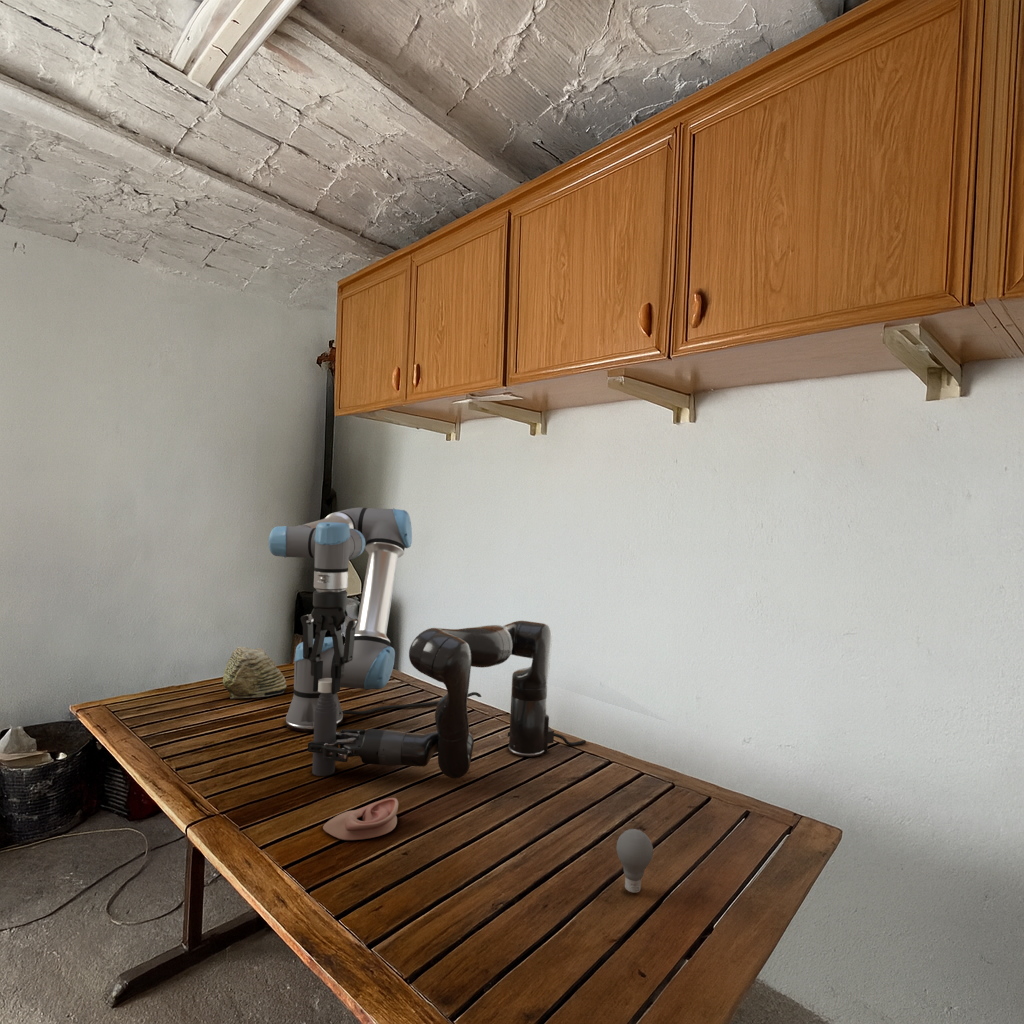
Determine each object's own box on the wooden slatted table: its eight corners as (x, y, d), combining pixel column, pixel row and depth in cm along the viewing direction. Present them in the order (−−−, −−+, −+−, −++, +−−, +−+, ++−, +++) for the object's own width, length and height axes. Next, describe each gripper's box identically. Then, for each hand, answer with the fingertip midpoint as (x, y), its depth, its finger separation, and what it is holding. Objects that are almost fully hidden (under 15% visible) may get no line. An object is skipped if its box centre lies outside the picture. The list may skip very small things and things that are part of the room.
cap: (320, 687, 147) (320, 677, 147) (337, 688, 148) (337, 678, 148) (315, 692, 144) (316, 682, 144) (333, 693, 144) (333, 683, 144)
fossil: (218, 695, 195) (220, 647, 195) (278, 685, 208) (279, 640, 207) (228, 703, 189) (230, 653, 188) (289, 692, 201) (290, 645, 201)
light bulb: (610, 879, 108) (613, 822, 108) (644, 879, 109) (647, 822, 109) (619, 902, 102) (622, 840, 102) (655, 901, 103) (658, 840, 103)
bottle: (323, 778, 143) (326, 687, 142) (307, 772, 145) (310, 683, 145) (339, 770, 147) (342, 682, 146) (323, 765, 149) (327, 678, 149)
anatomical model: (315, 814, 118) (343, 787, 129) (314, 835, 118) (343, 807, 129) (382, 825, 115) (405, 796, 127) (381, 846, 116) (404, 816, 127)
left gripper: (288, 589, 143) (284, 691, 144) (357, 594, 140) (353, 699, 140) (305, 585, 151) (301, 682, 151) (371, 590, 147) (367, 690, 147)
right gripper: (394, 720, 152) (325, 715, 153) (376, 743, 137) (300, 737, 139) (393, 751, 152) (324, 746, 153) (375, 777, 138) (299, 771, 139)
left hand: (326, 690), depth 146 cm, fingers closed on cap, 4 cm apart
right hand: (313, 741), depth 146 cm, fingers closed on bottle, 5 cm apart
